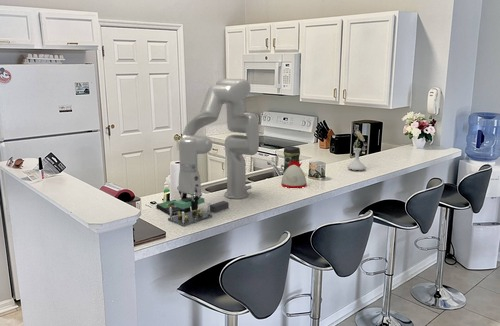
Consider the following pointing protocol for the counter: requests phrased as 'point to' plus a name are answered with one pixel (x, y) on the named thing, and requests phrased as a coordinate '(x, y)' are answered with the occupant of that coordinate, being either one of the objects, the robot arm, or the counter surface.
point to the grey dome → (294, 176)
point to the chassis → (189, 217)
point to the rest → (219, 206)
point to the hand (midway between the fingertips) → (189, 207)
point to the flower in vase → (357, 156)
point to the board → (187, 202)
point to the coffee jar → (290, 155)
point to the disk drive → (166, 208)
